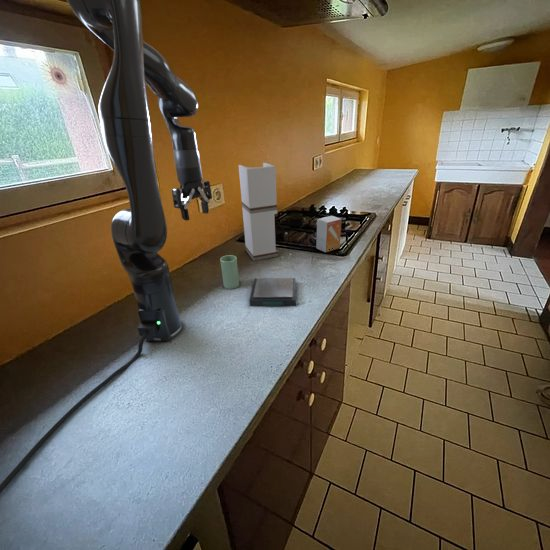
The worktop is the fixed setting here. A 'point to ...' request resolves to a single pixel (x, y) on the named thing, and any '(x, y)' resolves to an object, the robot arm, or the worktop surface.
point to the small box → (328, 233)
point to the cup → (229, 271)
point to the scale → (273, 292)
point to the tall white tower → (259, 210)
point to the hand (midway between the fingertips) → (196, 216)
